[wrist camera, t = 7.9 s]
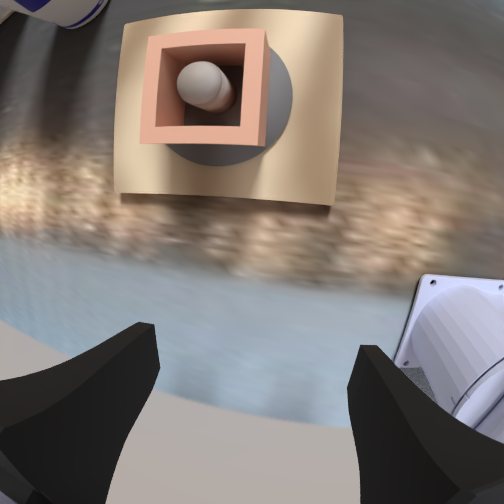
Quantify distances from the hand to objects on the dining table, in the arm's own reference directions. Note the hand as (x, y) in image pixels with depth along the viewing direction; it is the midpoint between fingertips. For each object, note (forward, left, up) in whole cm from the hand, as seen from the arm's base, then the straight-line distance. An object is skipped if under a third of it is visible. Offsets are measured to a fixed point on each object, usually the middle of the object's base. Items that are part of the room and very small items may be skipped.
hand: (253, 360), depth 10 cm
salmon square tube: (+4, -10, -9) cm, 14 cm away
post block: (+4, -10, -10) cm, 15 cm away
